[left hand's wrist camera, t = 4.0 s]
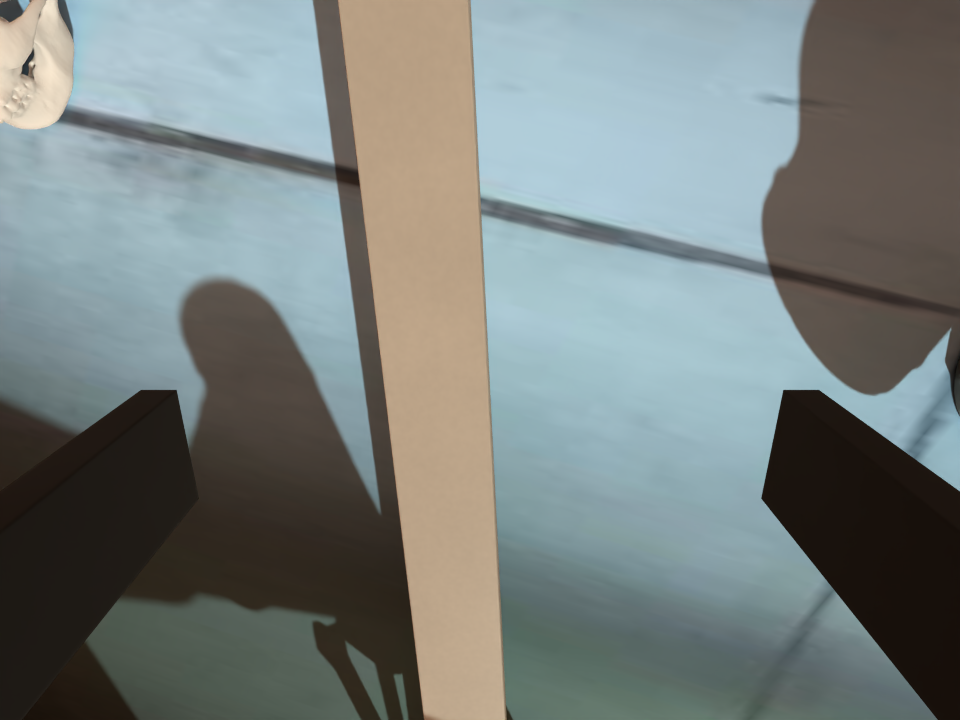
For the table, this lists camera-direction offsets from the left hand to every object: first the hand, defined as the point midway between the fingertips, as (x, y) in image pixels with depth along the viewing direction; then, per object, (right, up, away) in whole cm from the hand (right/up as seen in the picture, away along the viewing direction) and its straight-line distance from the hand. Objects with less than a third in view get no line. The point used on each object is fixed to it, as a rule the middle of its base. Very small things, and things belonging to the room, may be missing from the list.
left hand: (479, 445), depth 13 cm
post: (-2, -13, +33) cm, 35 cm away
